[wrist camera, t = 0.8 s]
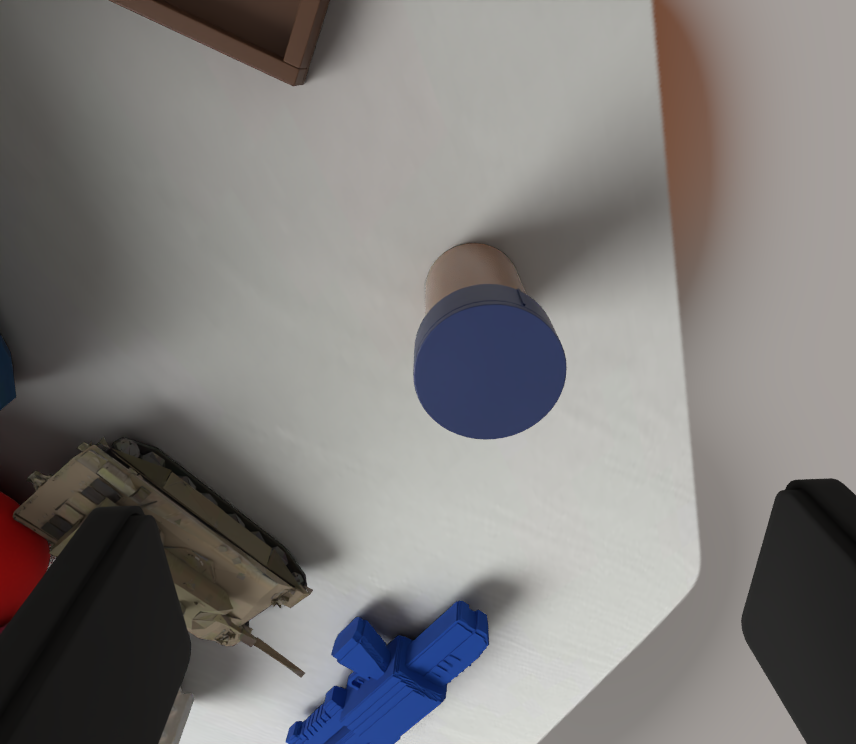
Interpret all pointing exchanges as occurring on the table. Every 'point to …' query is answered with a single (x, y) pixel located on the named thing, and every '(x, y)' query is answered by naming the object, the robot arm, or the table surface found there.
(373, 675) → the toy gun
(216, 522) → the tank
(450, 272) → the jar
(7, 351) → the radio
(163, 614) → the robot arm
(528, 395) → the lid
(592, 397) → the table surface
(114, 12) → the table surface
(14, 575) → the tomato
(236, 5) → the tray
